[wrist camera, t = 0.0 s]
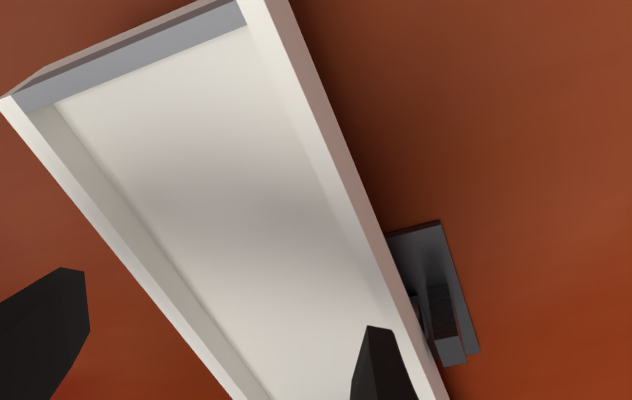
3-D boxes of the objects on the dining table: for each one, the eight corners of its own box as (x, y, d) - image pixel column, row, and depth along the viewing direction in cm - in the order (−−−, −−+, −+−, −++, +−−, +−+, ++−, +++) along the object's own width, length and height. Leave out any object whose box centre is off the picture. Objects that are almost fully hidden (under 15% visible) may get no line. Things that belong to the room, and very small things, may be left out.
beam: (478, 470, 28) (489, 523, 26) (345, 487, 30) (344, 537, 28) (274, -33, 13) (259, -10, 11) (43, 66, 16) (-7, 102, 13)
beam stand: (479, 346, 25) (495, 410, 22) (268, 386, 28) (254, 447, 25) (439, 219, 22) (451, 272, 19) (204, 281, 25) (179, 335, 22)
